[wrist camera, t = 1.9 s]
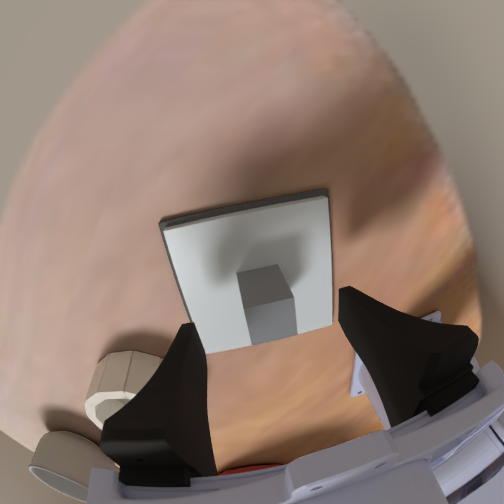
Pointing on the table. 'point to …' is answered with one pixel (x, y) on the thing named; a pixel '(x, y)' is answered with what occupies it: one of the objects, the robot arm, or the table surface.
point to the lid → (256, 272)
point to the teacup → (68, 463)
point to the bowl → (118, 382)
